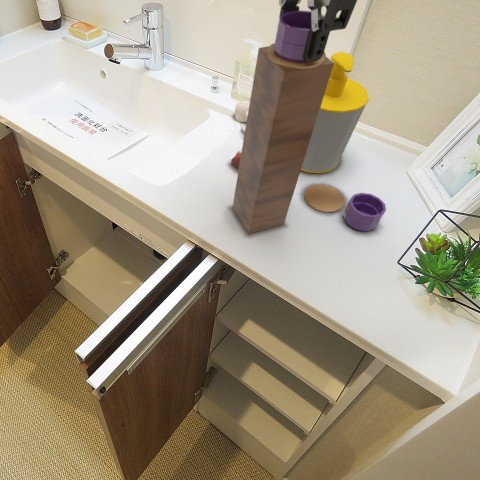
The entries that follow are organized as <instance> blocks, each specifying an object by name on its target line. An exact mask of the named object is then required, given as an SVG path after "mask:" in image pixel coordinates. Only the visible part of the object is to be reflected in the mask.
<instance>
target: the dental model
mask: <svg viewBox="0 0 480 480" xmlns="http://www.w3.org/2000/svg"><path fill="white" fill-rule="evenodd" d="M241 153H242V150H240V151H239V150H238V151H237V152H236V153H235V155H234V156H233V157H232V159H230V160H231V161H230V164H231V165H233V166H235V167H237V168H239V165H240V159H241Z"/></svg>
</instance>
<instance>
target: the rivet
mask: <svg viewBox="0 0 480 480" xmlns="http://www.w3.org/2000/svg"><path fill="white" fill-rule="evenodd" d="M240 129H241V130H242V131H243V132H244V133H245V129H246V126H244V125H243V124H242V125H240Z"/></svg>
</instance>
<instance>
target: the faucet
mask: <svg viewBox="0 0 480 480" xmlns="http://www.w3.org/2000/svg"><path fill="white" fill-rule="evenodd" d="M249 105H250V100H249V101H248V100H244V99H243V100H240V101H239V102H238V103H237V104H236V105H235V108H234V117H235V120H236V121H238V122H240V123H247V117H248V111H249Z"/></svg>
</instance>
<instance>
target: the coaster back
mask: <svg viewBox="0 0 480 480" xmlns="http://www.w3.org/2000/svg"><path fill="white" fill-rule="evenodd" d="M303 197H304V198H303V199H304V202H305V203H306V204H307V205H308V206H309V207H311V209H313V210H315V211H317V212H321V213H327V214H329V213H336V212H338V211H340V210H342V209H343V208H344V206H345V197H344V195H343V194H342V193H341V191H340V190H338V189H337V188H335V187H332V186H330V185H325V184H314V185H311V186H309V187H307V188H306V190H305V191H304V194H303Z"/></svg>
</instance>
